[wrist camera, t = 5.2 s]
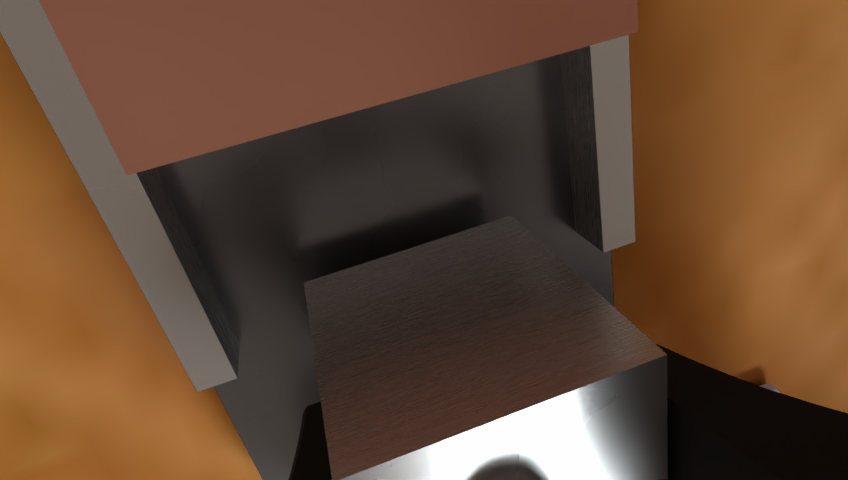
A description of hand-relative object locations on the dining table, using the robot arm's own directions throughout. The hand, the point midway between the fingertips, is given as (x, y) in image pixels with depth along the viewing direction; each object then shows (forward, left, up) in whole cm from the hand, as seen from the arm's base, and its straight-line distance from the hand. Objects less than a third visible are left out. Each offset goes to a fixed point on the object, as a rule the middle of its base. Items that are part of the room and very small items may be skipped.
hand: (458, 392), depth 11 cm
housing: (0, 0, -2) cm, 2 cm away
